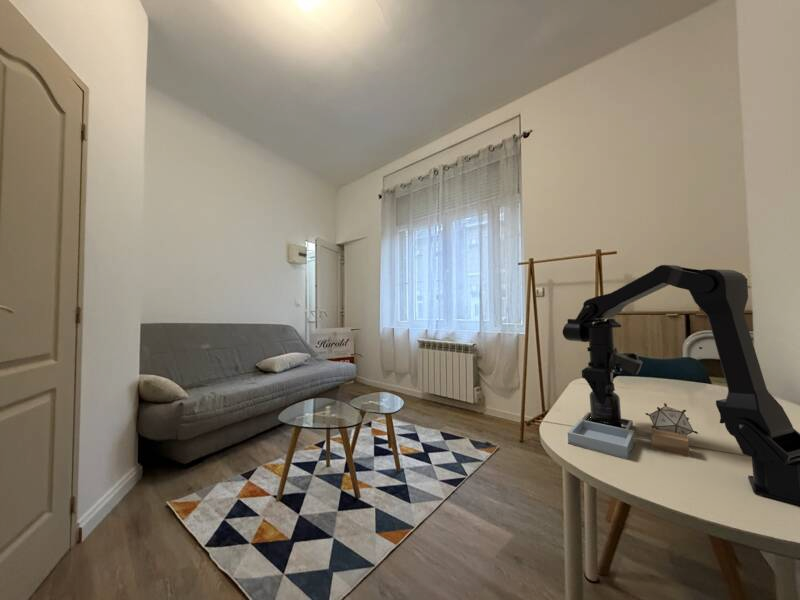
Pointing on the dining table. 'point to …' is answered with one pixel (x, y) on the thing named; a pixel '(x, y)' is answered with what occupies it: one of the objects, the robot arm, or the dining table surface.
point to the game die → (671, 420)
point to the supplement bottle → (606, 408)
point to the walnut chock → (670, 442)
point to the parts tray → (602, 438)
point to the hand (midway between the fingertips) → (604, 400)
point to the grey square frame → (623, 421)
